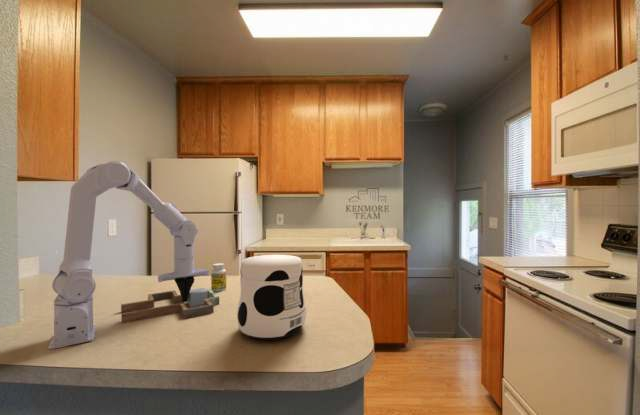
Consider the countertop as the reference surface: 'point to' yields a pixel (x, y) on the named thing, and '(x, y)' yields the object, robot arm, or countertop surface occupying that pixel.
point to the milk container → (271, 297)
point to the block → (197, 297)
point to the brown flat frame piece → (168, 309)
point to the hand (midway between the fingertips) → (184, 301)
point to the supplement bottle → (218, 277)
